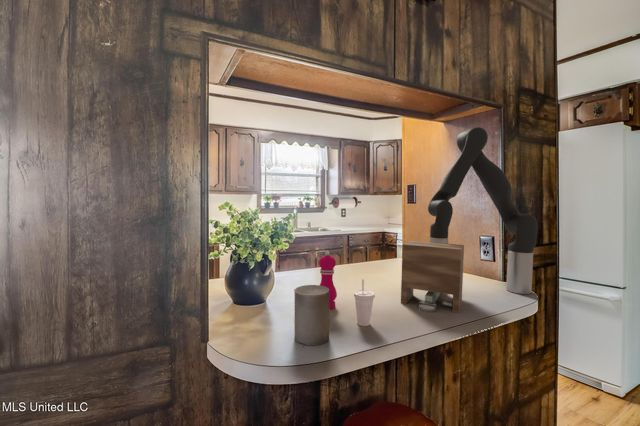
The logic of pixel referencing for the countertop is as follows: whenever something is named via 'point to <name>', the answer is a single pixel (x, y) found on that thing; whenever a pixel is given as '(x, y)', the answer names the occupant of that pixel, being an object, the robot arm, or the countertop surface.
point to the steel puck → (427, 306)
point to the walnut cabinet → (432, 270)
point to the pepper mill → (328, 276)
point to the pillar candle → (311, 314)
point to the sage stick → (431, 296)
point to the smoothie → (363, 305)
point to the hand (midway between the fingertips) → (437, 289)
